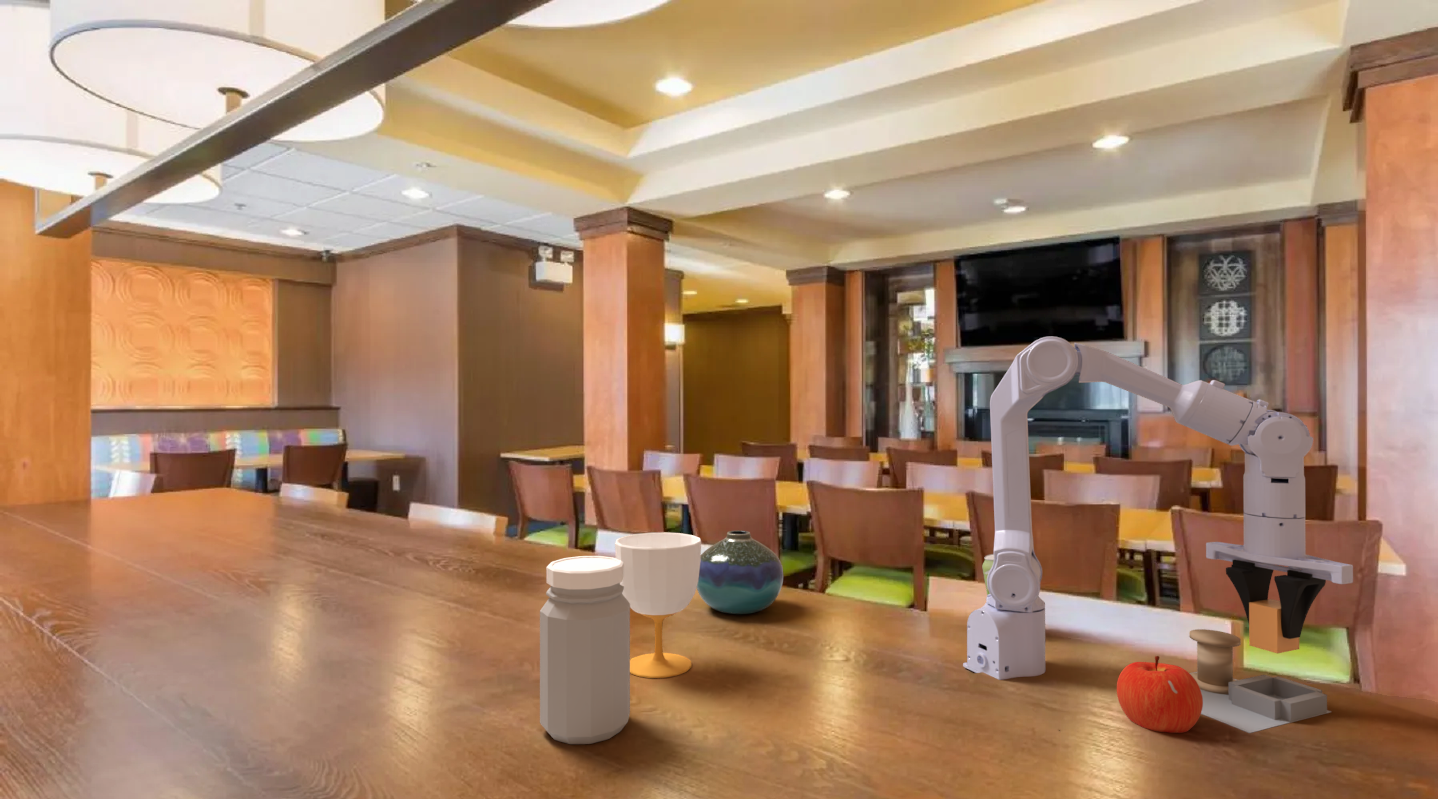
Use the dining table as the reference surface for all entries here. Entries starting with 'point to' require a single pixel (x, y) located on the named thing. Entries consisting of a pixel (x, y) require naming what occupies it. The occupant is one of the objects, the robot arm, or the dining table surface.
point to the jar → (585, 650)
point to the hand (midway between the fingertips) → (1274, 632)
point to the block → (1268, 627)
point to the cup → (659, 589)
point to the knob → (1214, 659)
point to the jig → (1264, 703)
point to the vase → (739, 575)
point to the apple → (1159, 696)
